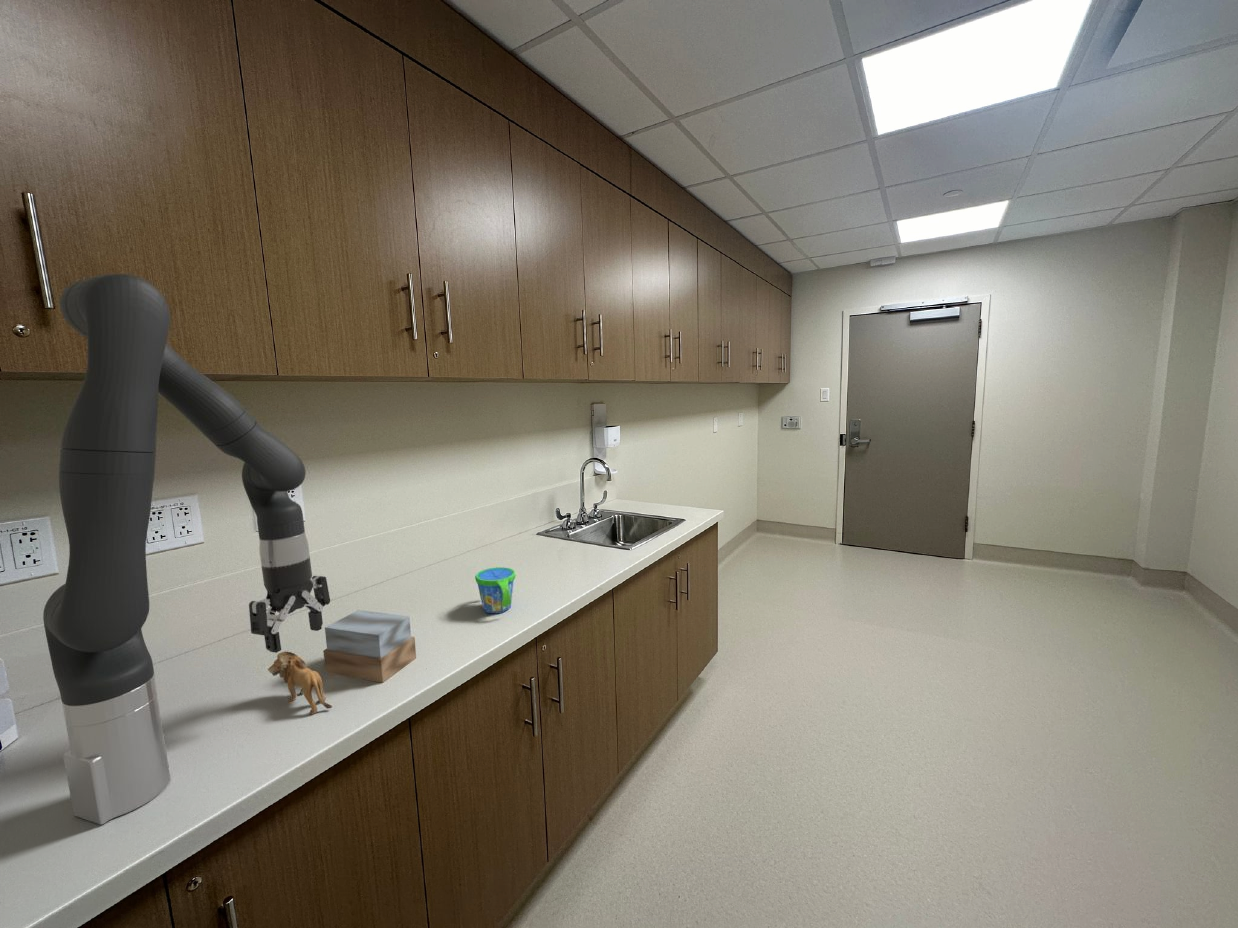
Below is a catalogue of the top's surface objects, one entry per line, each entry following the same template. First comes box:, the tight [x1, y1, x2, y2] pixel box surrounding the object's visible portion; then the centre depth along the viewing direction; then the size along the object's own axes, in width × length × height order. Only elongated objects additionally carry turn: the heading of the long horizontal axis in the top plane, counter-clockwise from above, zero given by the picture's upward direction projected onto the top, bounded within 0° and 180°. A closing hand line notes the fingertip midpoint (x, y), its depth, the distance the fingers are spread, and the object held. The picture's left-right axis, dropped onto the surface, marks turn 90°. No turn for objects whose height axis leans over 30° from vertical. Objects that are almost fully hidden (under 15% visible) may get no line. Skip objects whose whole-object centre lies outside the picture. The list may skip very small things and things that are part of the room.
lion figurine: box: [267, 650, 333, 715], centre depth 94 cm, size 15×5×9 cm, turn 67°
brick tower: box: [323, 609, 417, 684], centre depth 106 cm, size 10×15×10 cm, turn 73°
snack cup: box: [474, 566, 517, 614], centre depth 134 cm, size 16×10×10 cm
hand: (296, 639), depth 93 cm, fingers open, 8 cm apart
